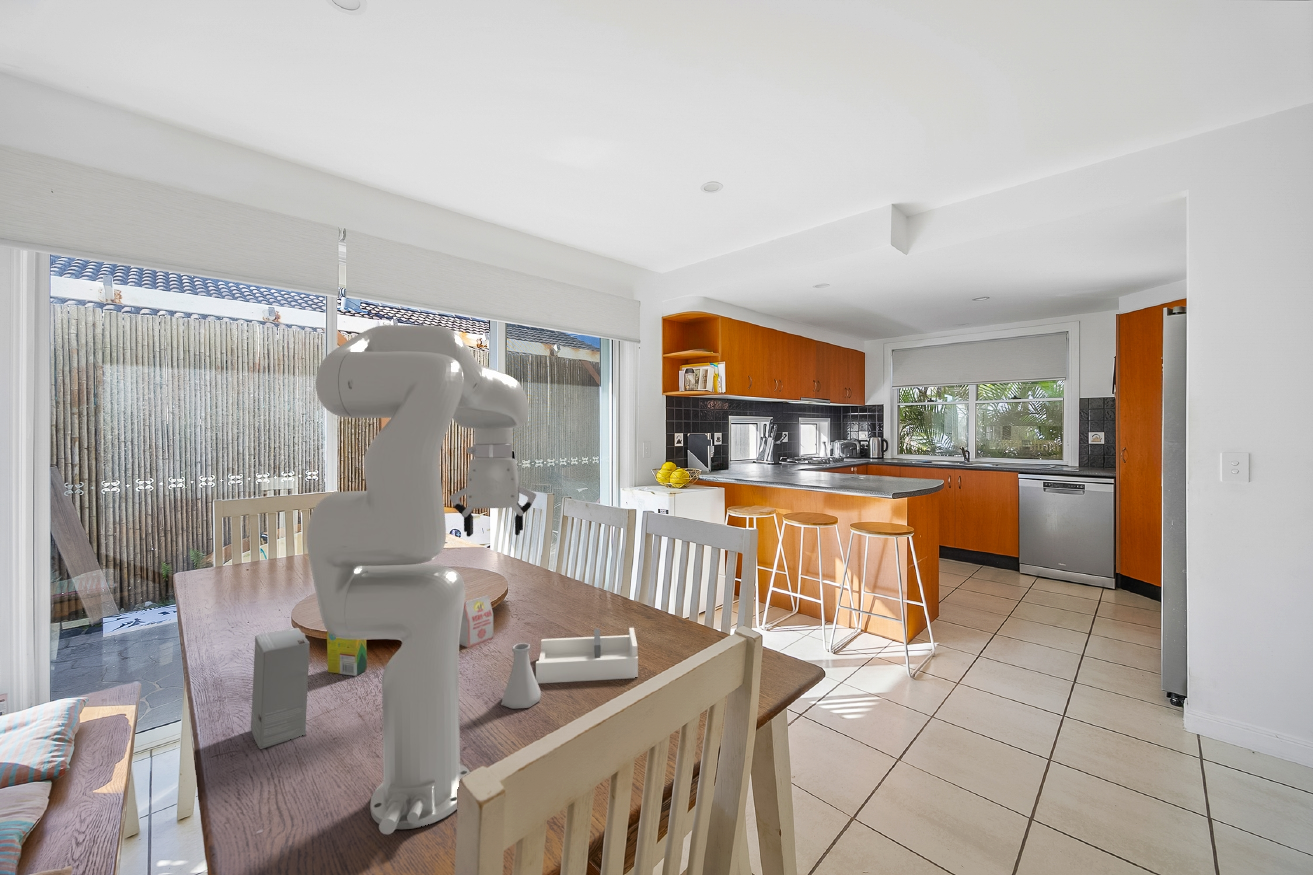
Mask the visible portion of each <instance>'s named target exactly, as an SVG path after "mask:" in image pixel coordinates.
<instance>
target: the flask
mask: <svg viewBox="0 0 1313 875" xmlns="http://www.w3.org/2000/svg"><path fill="white" fill-rule="evenodd" d="M530 648H531V644H530V643H526V642H519V643H518V642H517V643H516V644H514V645H512V648H511V651H512V652H513V662H512V667H511V671H510V676H509V679H508V681H507V684H506V687H505V691H504V694H503V697H502V699H501V704H500V706H503V707H505V708H506V707H507V708H510V709H511V710H512V709H528V708H530V707H532V706H534V705H535V704H538V703H539V702H540V701H541V697H542V691H541V688H540V686H539V683H537V681H536V675H535V674H534V671H533V668H532V665H531V661H530V656H529V651H530Z"/></svg>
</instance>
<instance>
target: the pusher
mask: <svg viewBox="0 0 1313 875" xmlns="http://www.w3.org/2000/svg"><path fill="white" fill-rule="evenodd" d="M593 633H594V634H593V635H594V636H593V637H594V658H601V645H600V636H601V628H594V630H593Z"/></svg>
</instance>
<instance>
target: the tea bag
mask: <svg viewBox="0 0 1313 875" xmlns="http://www.w3.org/2000/svg"><path fill="white" fill-rule="evenodd" d="M489 639H490V640H492V639H494V612H493V607H492V603H491V599H490V595H488V594H487V595H484V596H483V595H482V596H480V597H477V598H474V599H469V600H467V601H466V600H465V603H464V609H463V615H462V622H461V629H460V638H459V645H461V646H463V647H465V648H467V649H468V648H471V646H472V647H474V646H477V645H480V644H482V643H485V642H487V641H490V640H489Z"/></svg>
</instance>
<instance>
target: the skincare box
mask: <svg viewBox="0 0 1313 875" xmlns="http://www.w3.org/2000/svg"><path fill="white" fill-rule="evenodd" d="M310 644H311V643H310V641H309V640H308V639H307V638H306V633H304V632H303V631H302V630H301V629H300V628H299V627H294V628H289V629H283V630H279V631H271V632H267V633H260V634H257V635H254V653H253V654H254V659H253V675H252V676H253V679H252V680H253V681H252V698H251V700H252V702H251V719H250V731H251V733H252V737H253V739H254V740H255V741H254V742H255V743H256V744H257V747H258V748H259V749H260V750H262V749H265V748H270V747H272V746H276V745H279V744H281V743H284V742H287V741H290V739H291V740H294V739H296V738H297V739H298V738H300V737H303V736H305V735H306V734H307V733H306V732H307V727H306V726H307V710H308V709H307V705H308V687H309V686H308V685H309V680H308V679H309V666H310ZM302 735H303V736H302ZM299 736H300V737H299Z"/></svg>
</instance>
